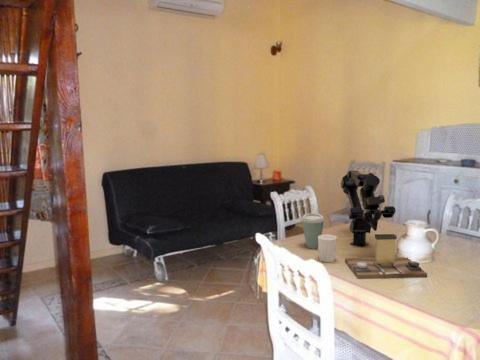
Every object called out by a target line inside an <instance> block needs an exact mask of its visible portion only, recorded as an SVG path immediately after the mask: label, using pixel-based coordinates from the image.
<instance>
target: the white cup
mask: <svg viewBox="0 0 480 360" xmlns="http://www.w3.org/2000/svg"><path fill="white" fill-rule="evenodd" d="M337 243H338V236H336V235H332V234H322V235H319V236H318V248H317V249H318V250H317V251H318V259H319V261H321V262H323V263H333V262H335V261H336V254H337Z"/></svg>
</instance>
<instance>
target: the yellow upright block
mask: <svg viewBox="0 0 480 360" xmlns="http://www.w3.org/2000/svg"><path fill="white" fill-rule="evenodd" d="M397 238H398V237H397V235H396V234H395V233H390V234H388V233H384V234H383V233H382V234H381V233H380V234H377V233H376V234H374V239H375V256H374V258H375V262H376V263H377V264H378V265H379V266H380V267H381V268H393V265H392V264H391V263H395V257H396V240H397Z"/></svg>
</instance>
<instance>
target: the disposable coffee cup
mask: <svg viewBox="0 0 480 360" xmlns="http://www.w3.org/2000/svg"><path fill="white" fill-rule="evenodd" d="M301 223H302V229H303V235H304V241H305V245H306V247H307V248H309V249H318V236H319V235H323V229H324V223H325V217H324V216H323V215H322V214H319V213H312V212H311V213H306V214H303V216H302V217H301Z"/></svg>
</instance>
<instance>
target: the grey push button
mask: <svg viewBox="0 0 480 360" xmlns="http://www.w3.org/2000/svg"><path fill="white" fill-rule="evenodd" d="M357 267H358V268H361V269H365V268H367V263H365V262H357Z"/></svg>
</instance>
